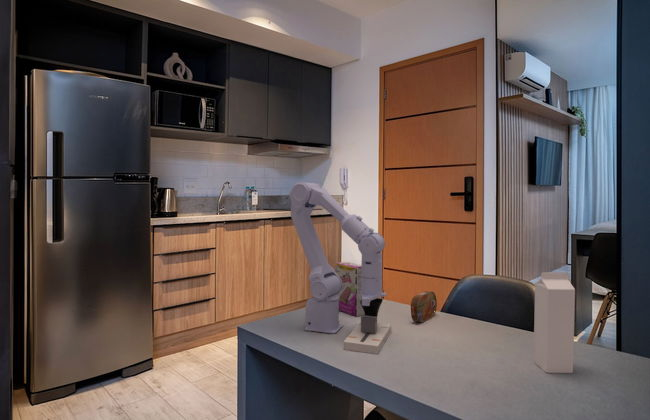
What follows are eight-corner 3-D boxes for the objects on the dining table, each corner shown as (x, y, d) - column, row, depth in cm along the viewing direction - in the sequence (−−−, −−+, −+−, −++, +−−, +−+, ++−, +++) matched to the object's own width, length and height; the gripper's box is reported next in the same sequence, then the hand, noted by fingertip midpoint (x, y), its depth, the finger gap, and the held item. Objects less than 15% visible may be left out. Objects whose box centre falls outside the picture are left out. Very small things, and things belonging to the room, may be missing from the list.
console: (343, 349, 105) (343, 341, 104) (361, 328, 121) (361, 321, 121) (377, 354, 102) (377, 345, 101) (391, 331, 118) (391, 324, 118)
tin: (418, 325, 124) (418, 298, 124) (408, 323, 126) (408, 296, 126) (437, 314, 136) (437, 289, 136) (428, 313, 138) (428, 288, 138)
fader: (360, 331, 111) (360, 317, 111) (362, 329, 113) (363, 314, 113) (375, 333, 110) (375, 318, 110) (377, 330, 112) (377, 316, 112)
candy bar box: (334, 309, 141) (334, 262, 141) (345, 307, 144) (346, 261, 144) (356, 317, 132) (356, 267, 132) (367, 315, 135) (367, 265, 135)
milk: (533, 362, 97) (534, 269, 96) (559, 362, 97) (560, 270, 96) (546, 373, 91) (547, 274, 90) (574, 373, 91) (575, 274, 90)
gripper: (380, 283, 106) (380, 335, 106) (390, 273, 119) (390, 319, 120) (354, 281, 108) (353, 331, 108) (367, 271, 122) (366, 316, 122)
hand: (371, 325), depth 114 cm, fingers closed
